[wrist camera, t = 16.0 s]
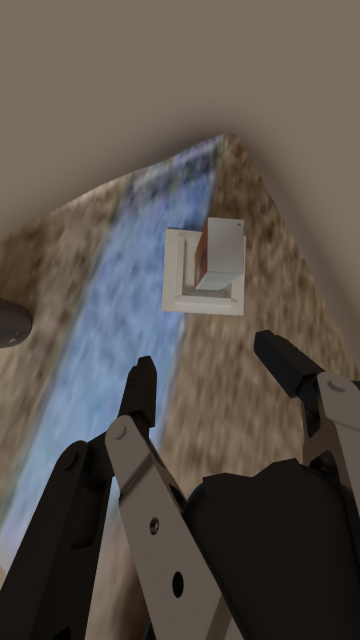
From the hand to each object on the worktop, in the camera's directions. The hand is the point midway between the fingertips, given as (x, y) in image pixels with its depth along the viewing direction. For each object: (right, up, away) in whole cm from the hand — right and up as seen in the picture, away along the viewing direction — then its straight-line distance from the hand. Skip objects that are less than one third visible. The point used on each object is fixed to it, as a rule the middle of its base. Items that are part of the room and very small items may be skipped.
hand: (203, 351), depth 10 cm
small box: (+4, +13, +19) cm, 23 cm away
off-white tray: (+4, +13, +20) cm, 24 cm away
